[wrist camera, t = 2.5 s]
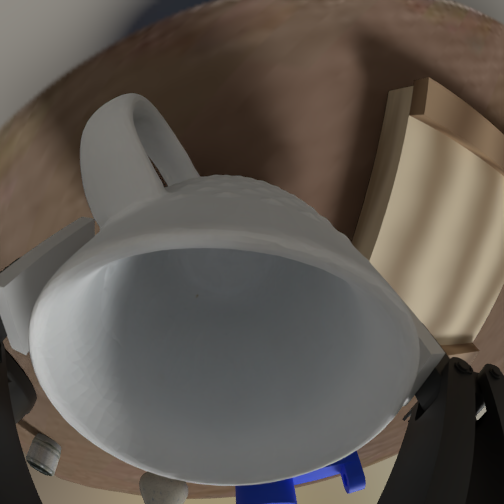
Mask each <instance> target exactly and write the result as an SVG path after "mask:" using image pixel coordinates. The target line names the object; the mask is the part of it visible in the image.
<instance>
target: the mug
mask: <svg viewBox="0 0 504 504" xmlns="http://www.w3.org/2000/svg"><path fill="white" fill-rule="evenodd" d="M148 156H149V157H148ZM149 158H150V159H151V160H152V161H153V163H154V164H155V166H156V167H157V168H158V170H159V172H160V173H161V175H162V177H163V178H164V180H165V182H166V183H167V185H168V187H165V188H164V186H163V183H162V181H161V180H160V178H159V176H158V174H157V173H156V171H155V169H154V167H153V165H152V163H151V161H150V159H149ZM80 167H81V176H82V183H83V187H84V191H85V196H86V199H87V201H88V204H89V207H90V210H91V212H92V215H93V217H94V219H95V221H96V222H97V224H98V225H99V227H100V231H99V233H97V234H96V235H95V236H94V237H93V238H92V239H91V240H90V241H89V242H87V243H86V244H85V245H84V246H83V247H81V248H80V249H79V250H78V251H77V252H76V253H75V254H74V255H73V256H72V257H70V258H69V259H68V260H67V261H66V262H65V263H64V264H63V265H62V266H61V267H60V268H59V269H58V270H57V271H56V273H55V274H54V275H53V276H52V277H51V278H50V280H49V281H48V282H47V284H46V285H45V286H44V288H43V290H42V291H41V293H40V295H39V297H38V298H37V300H36V302H35V305H34V307H33V310H32V313H31V317H30V320H29V329H28V343H29V352H30V357H31V361H32V365H33V368H34V371H35V374H36V376H37V378H38V381H39V383H40V385H41V387H42V388H43V390H44V392H45V393H46V395H47V397H48V398H49V400H50V401H51V403H52V404H53V406H54V407H55V408H56V409H57V410H58V411H59V413H60V414H61V415H62V417H63V418H64V419H65V420H66V421H67V422H68V423H69V424H70V425H71V426H72V427H73V428H75V429H76V430H77V431H78V432H79V433H80V434H81V435H82V436H84V437H85V438H87V439H88V440H89V441H91V442H92V443H93V444H95V445H96V446H98V447H99V448H101V449H103V450H104V451H106V452H107V453H109V454H111V455H113V456H115V457H116V458H118V459H120V460H122V461H124V462H126V463H128V464H131V465H133V466H135V467H138V468H140V469H143V470H145V471H148V472H151V473H154V474H157V475H160V476H164V477H167V478H171V479H176V480H180V481H185V482H191V483H197V484H208V485H220V486H238V485H254V484H262V483H270V482H275V481H280V480H284V479H289V478H293V477H297V476H300V475H303V474H306V473H309V472H312V471H315V470H318V469H320V468H323V467H326V466H328V465H330V464H332V463H335V462H337V461H339V460H341V459H343V458H344V457H346V456H348V455H350V454H351V453H353V452H355V451H356V450H358V449H359V448H361V447H362V446H364V445H365V444H366V443H368V442H369V441H370V440H372V439H373V438H374V437H375V436H376V435H378V434H379V433H380V432H381V431H382V430H383V429H384V428H385V427H386V426H387V425H388V424H389V423H390V422H391V420H392V419H393V418H394V417H395V416H396V414H397V413H398V412H399V410H400V409H401V407H402V406H403V404H404V403H405V401H406V399H407V397H408V396H409V394H410V392H411V389H412V387H413V384H414V382H415V379H416V376H417V371H418V366H419V359H420V346H419V339H418V334H417V330H416V327H415V324H414V322H413V319H412V317H411V314H410V312H409V310H408V309H407V307H406V305H405V304H404V303H403V301H402V300H401V298H400V297H399V296H398V294H397V293H396V292H395V290H394V289H393V288H392V287H391V286H390V285H389V283H388V282H387V281H386V280H385V279H384V278H383V277H382V275H381V274H380V273H379V272H378V271H377V270H376V269H375V268H374V267H373V266H372V264H371V263H370V262H369V260H368V259H367V258H365V257H364V256H363V255H362V254H361V253H360V252H359V251H358V250H357V249H356V248H355V247H354V246H353V245H352V243H351V242H350V240H349V239H348V238H347V236H345V235H344V234H343V233H341V232H339V231H337V230H336V229H335V228H334V227H333V226H332V224H331V223H330V221H328V220H327V218H325V217H323V216H321V215H319V214H318V213H317V212H316V211H315V209H314V208H313V207H311V206H309V205H307V204H306V203H305V202H304V201H302V200H301V199H298V198H297V197H296V196H295V195H293V194H290V193H288V192H287V191H285V190H282V189H280V188H279V187H278V186H275V185H271V184H269V183H267V182H265V181H263V180H256V179H253V178H249V177H242V176H239V175H238V176H230V175H212V176H204V177H201V176H200V175H199V174H198V172H197V171H196V169H195V167H194V166H193V164H192V162H191V160H190V158H189V156H188V154H187V153H186V151H185V149H184V148H183V146H182V145H181V143H180V142H179V140H178V139H177V137H176V135H175V134H174V132H173V131H172V129H171V128H170V126H169V125H168V123H167V122H166V120H165V119H164V117H163V116H162V115H161V114H160V112H159V111H158V110H157V108H156V107H155V106H154V105H153V104H152V103H151V102H150V101H149V100H148V99H146V98H145V97H143V96H142V95H139V94H136V93H129V94H123V95H121V96H118V97H116V98H114V99H112V100H110V101H109V102H107V103H105V104H104V105H103V106H101V107H100V108H99V109H98V110H97V111H96V112H95V113H94V114H93V115H92V116H91V117H90V119H89V120H88V122H87V124H86V126H85V128H84V130H83V133H82V137H81V144H80Z"/></svg>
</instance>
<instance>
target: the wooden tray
mask: <svg viewBox="0 0 504 504" xmlns="http://www.w3.org/2000/svg"><path fill="white" fill-rule="evenodd" d="M351 243H352V245H353V246H354V247H355V248H356V249H357V250H358V251H359V252H360V253H361V254H362V255H363V256H364V257H365V258H367V259H368V260H369V262H370V263H371V264H372V266H373V267H374V268H375V269H376V270H377V271H378V272H379V273H380V274H381V275H382V277H383V278H384V279H385V280H386V281H387V282H388V283H389V285H390V286H391V287H392V288H393V289H394V290H395V292H396V293H397V294H398V295H399V296H400V297H401V299H402V300H403V301H404V302H405V303H406V305H407V306H408V307H409V308H410V309H411V310H412V312H413V313H414V314H415V315H416V316H417V318H418V319H419V320H420V321H421V322H422V323H423V324H424V325H425V327H426V328H427V329H428V330H429V333H431V334H432V335H433V337H434V339H436V340H437V342H438V343H439V344H440V346H441V347H442V348H443V350H444V351H445V352H446V353H447V355H448V356H449V357H450V358H452V357H458V358H461V359H463V360H464V361H466V362H467V363H468V364H469V365H470V364H471V363H472V361H473V360H474V359H475V357H476V356H477V354H478V353H479V350H478V349H477V347H476V346H475V345H474V344H473V343H472V342H473V341H474V339H475V337H476V336H477V334H478V332H479V331H480V329H481V327H482V325H483V324H484V322H485V320H486V318H487V316H488V315H489V313H490V311H491V309H492V307H493V305H494V303H495V301H496V299H497V297H498V295H499V292H500V290H501V288H502V286H503V284H504V135H503V134H502V133H501V132H500V131H499V130H498V129H497V128H496V127H495V126H494V125H493V124H491V123H490V122H489V121H488V120H487V119H486V118H484V117H483V116H482V115H481V114H480V113H478V112H477V111H476V110H475V109H473V108H472V107H471V106H470V105H468V104H467V103H466V102H464V101H463V100H462V99H460V98H459V97H458V96H456V95H455V94H453V93H452V92H451V91H449V90H448V89H446V88H445V87H443V86H442V85H440V84H439V83H437V82H436V81H434V80H433V79H431V78H429V77H428V78H423V79H418V80H414V86H410V87H405V88H400V89H396V90H391V91H389V93H388V99H387V105H386V110H385V115H384V121H383V126H382V130H381V135H380V140H379V144H378V149H377V153H376V157H375V161H374V166H373V170H372V174H371V177H370V181H369V185H368V189H367V192H366V196H365V200H364V203H363V207H362V210H361V213H360V217H359V220H358V223H357V227H356V230H355V233H354V236H353V239H352V242H351Z"/></svg>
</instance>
